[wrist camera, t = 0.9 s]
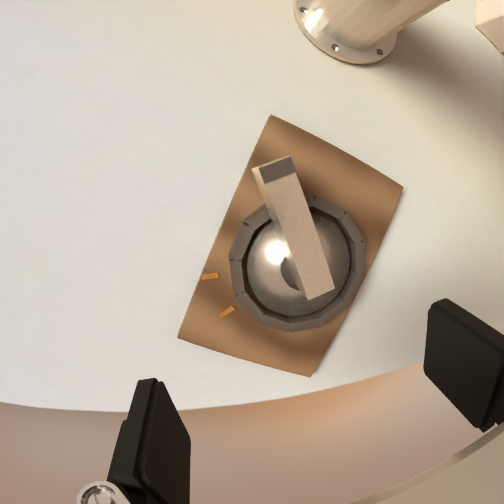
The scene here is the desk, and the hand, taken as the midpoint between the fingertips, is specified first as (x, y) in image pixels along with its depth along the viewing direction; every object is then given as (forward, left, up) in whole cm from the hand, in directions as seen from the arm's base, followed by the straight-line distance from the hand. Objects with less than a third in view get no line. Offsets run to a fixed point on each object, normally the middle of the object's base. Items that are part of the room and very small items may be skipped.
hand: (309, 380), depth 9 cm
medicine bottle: (-48, +22, -23) cm, 58 cm away
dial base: (0, +5, -23) cm, 23 cm away
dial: (-2, +4, -21) cm, 21 cm away
